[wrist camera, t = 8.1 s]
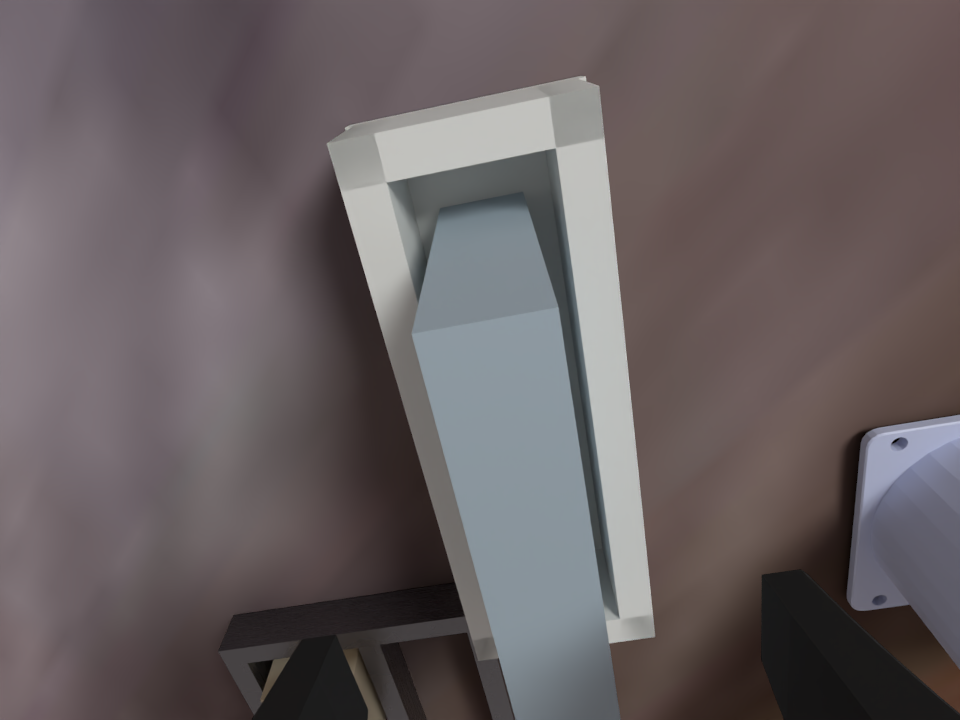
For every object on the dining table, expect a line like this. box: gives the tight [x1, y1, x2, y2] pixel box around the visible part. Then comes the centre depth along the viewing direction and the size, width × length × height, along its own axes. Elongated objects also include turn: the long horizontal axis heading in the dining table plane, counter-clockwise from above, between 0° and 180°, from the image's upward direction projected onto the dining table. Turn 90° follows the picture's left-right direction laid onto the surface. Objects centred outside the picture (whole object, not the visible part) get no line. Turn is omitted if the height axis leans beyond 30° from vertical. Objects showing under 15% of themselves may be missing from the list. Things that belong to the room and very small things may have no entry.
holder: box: [327, 76, 655, 661], centre depth 18 cm, size 6×16×4 cm, turn 11°
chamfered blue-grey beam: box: [412, 192, 621, 720], centre depth 15 cm, size 2×12×8 cm, turn 11°
